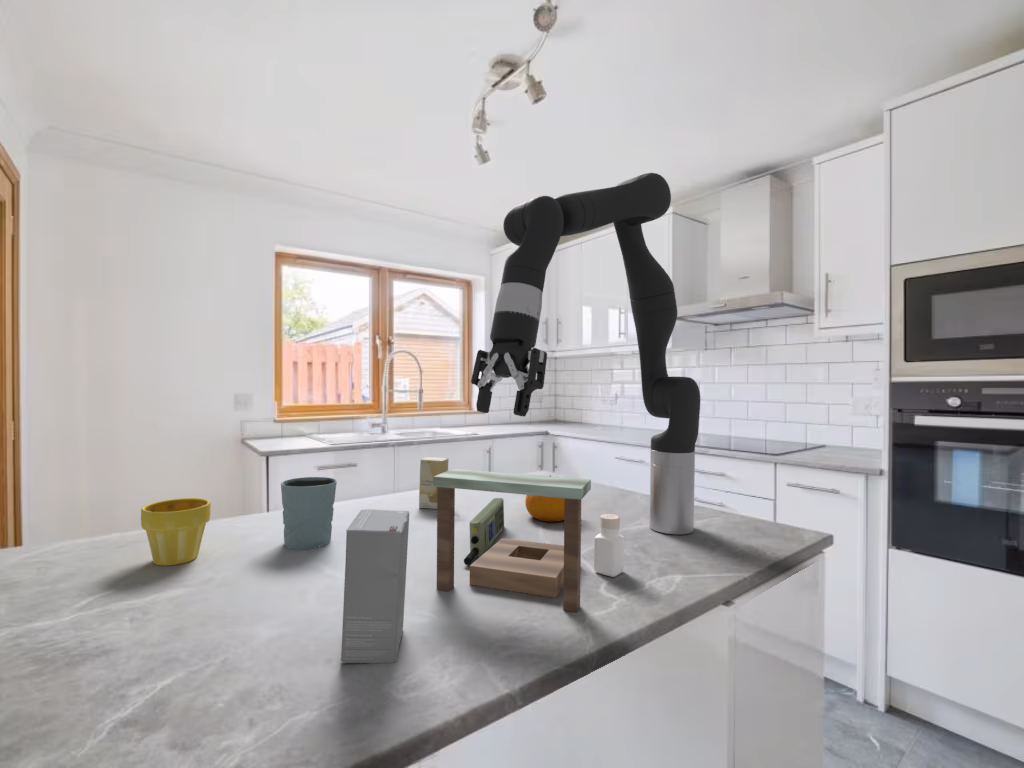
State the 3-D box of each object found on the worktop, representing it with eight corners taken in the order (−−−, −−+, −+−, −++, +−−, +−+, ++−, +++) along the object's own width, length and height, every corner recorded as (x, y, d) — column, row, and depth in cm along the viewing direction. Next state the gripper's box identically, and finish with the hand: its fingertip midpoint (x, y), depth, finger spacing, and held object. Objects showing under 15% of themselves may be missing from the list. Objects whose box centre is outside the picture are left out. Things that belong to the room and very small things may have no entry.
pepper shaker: (604, 566, 90) (605, 512, 90) (625, 571, 88) (626, 516, 87) (592, 572, 87) (593, 516, 87) (614, 579, 84) (614, 521, 84)
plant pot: (218, 559, 92) (218, 504, 91) (149, 575, 84) (149, 515, 84) (200, 545, 99) (200, 494, 99) (134, 559, 91) (134, 504, 91)
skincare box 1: (354, 630, 67) (355, 508, 66) (410, 628, 67) (411, 507, 67) (337, 667, 58) (338, 527, 58) (402, 664, 59) (403, 526, 59)
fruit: (578, 525, 115) (578, 480, 114) (525, 524, 115) (526, 480, 115) (572, 511, 126) (573, 471, 126) (524, 511, 126) (525, 470, 126)
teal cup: (268, 546, 99) (269, 483, 99) (308, 531, 108) (308, 474, 108) (310, 553, 95) (310, 488, 95) (347, 537, 104) (347, 478, 104)
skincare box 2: (418, 508, 128) (418, 459, 128) (424, 504, 132) (424, 456, 132) (443, 509, 127) (443, 460, 127) (448, 505, 131) (448, 457, 131)
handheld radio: (506, 528, 113) (477, 569, 89) (492, 527, 114) (458, 568, 89) (505, 497, 113) (475, 530, 88) (491, 497, 114) (457, 530, 89)
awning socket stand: (479, 551, 97) (480, 458, 97) (602, 567, 89) (603, 466, 89) (432, 590, 79) (433, 476, 79) (579, 614, 72) (581, 488, 71)
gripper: (565, 320, 82) (549, 421, 80) (502, 325, 92) (487, 414, 90) (534, 305, 77) (515, 412, 75) (471, 312, 87) (454, 407, 85)
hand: (500, 413), depth 82 cm, fingers open, 8 cm apart
